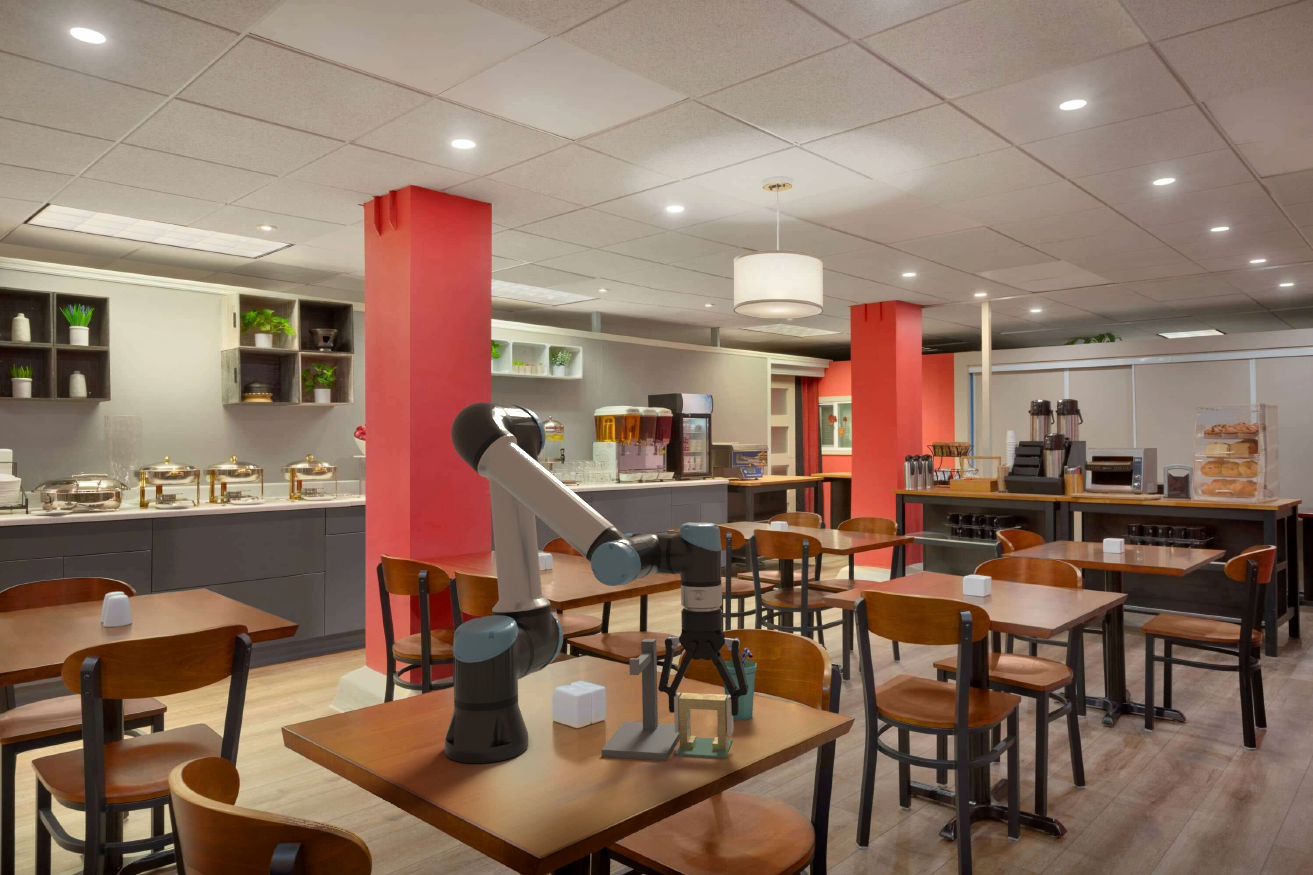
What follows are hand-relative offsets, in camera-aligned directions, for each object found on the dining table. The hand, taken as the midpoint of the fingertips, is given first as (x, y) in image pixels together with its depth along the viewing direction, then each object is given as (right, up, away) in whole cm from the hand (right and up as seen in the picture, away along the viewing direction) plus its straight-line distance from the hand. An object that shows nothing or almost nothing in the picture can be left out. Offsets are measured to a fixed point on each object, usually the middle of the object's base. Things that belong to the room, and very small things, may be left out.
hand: (704, 731), depth 151 cm
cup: (+9, -4, +18) cm, 20 cm away
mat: (0, -3, 0) cm, 3 cm away
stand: (-11, -3, +3) cm, 12 cm away
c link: (0, -3, 0) cm, 3 cm away
